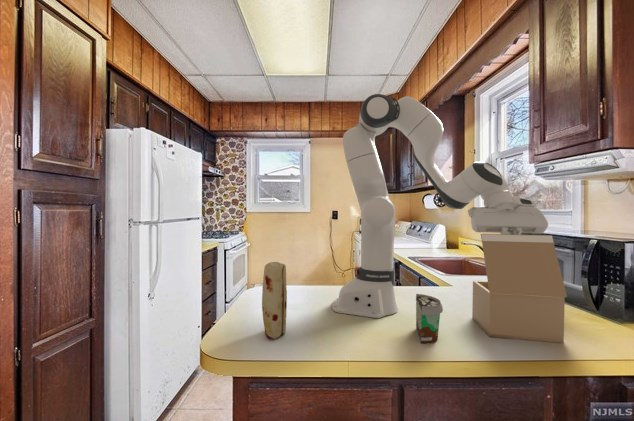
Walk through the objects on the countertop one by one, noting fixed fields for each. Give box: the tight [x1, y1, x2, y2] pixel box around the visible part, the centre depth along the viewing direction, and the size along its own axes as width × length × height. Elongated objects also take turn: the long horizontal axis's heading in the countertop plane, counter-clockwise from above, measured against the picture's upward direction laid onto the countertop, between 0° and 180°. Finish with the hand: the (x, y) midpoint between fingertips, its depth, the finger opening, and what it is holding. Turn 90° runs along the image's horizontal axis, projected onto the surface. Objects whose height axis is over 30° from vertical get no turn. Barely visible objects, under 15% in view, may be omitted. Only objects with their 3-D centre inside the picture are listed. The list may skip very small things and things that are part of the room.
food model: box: [261, 261, 288, 340], centre depth 82 cm, size 10×7×20 cm
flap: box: [480, 233, 568, 298], centre depth 83 cm, size 18×17×1 cm
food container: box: [415, 293, 444, 345], centre depth 82 cm, size 12×6×10 cm, turn 168°
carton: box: [471, 280, 566, 344], centre depth 87 cm, size 18×14×12 cm
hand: (515, 241), depth 87 cm, fingers closed, pressing on flap
